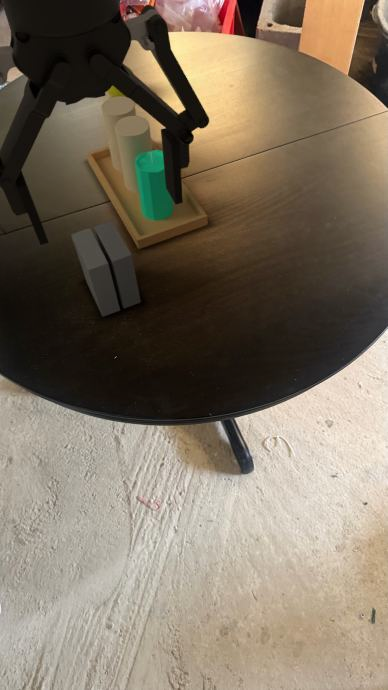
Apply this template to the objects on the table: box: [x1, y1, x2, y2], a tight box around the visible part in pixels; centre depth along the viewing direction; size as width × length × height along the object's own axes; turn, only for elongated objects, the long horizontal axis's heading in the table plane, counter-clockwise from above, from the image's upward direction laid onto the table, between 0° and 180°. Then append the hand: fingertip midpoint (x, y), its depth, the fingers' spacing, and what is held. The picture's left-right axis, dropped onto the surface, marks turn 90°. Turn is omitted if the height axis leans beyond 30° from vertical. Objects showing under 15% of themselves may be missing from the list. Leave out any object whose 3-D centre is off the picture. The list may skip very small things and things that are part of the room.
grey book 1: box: [70, 227, 121, 318], centre depth 73 cm, size 8×3×11 cm, turn 26°
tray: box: [86, 138, 209, 250], centre depth 91 cm, size 28×14×2 cm, turn 26°
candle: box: [135, 149, 174, 221], centre depth 83 cm, size 6×6×12 cm
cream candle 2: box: [115, 115, 152, 193], centre depth 87 cm, size 6×6×12 cm
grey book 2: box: [93, 220, 142, 309], centre depth 74 cm, size 8×3×11 cm, turn 26°
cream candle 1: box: [101, 97, 137, 172], centre depth 91 cm, size 6×6×12 cm
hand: (109, 214), depth 46 cm, fingers open, 13 cm apart
